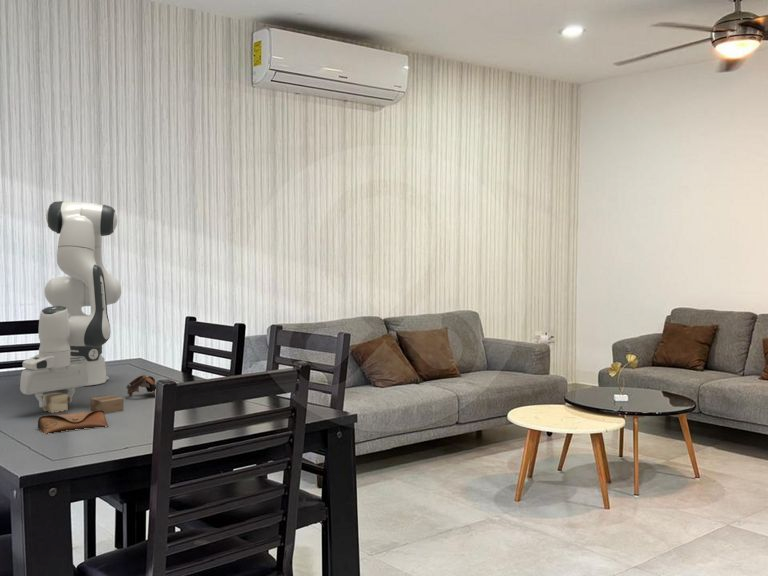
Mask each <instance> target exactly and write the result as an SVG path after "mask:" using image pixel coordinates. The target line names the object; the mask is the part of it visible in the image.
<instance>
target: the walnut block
mask: <svg viewBox="0 0 768 576" xmlns="http://www.w3.org/2000/svg"><path fill="white" fill-rule="evenodd" d="M124 407H125V406H124V398H123V397H119V396H116V395H114V394H112V395H111V394H110V395H105V396H98V397H91V398H90V411H91V410H92V411H97V410H101V411H104V413H106V414H111V413H110V412H112V413H117V412H116V411H118V412H123V410H125V409H124ZM92 411H91V412H92Z"/></svg>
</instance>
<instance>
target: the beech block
mask: <svg viewBox="0 0 768 576" xmlns="http://www.w3.org/2000/svg"><path fill="white" fill-rule="evenodd" d="M67 395H68V393H63V392H58V391H57V392H52V393H46V394H43V396H42V399H43V400H44V401H47V406H46V407H42V409H43V410H44V412H46V411H48V413H50V412H51V413H50V414H54V412H55V413H60V412H59V411H61V412H65V411H64V410H66V411H68V409H69V408H68V403H67Z"/></svg>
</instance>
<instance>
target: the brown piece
mask: <svg viewBox="0 0 768 576" xmlns="http://www.w3.org/2000/svg"><path fill="white" fill-rule="evenodd" d="M140 387H141V388H145V389H146V391H147V392H146V393H152V394H153V395H154V396H155V389H156V387H157V385H156V379H155V378H154V377H153V376H152V375H149V376H147V375H146V374H143V375H140V376H137V377H136V378H133V380H131V381H130V382H129V384H127V385H126V387H125V388H126V389H127V395H128V396H129V397H132V396H133V394H134V392H135V393H136V392H137V393H140V391H139V388H140Z"/></svg>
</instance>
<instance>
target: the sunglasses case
mask: <svg viewBox="0 0 768 576" xmlns="http://www.w3.org/2000/svg"><path fill="white" fill-rule="evenodd" d="M105 426H109V424H108V421H107V419H106V416H105V413H104V411H101V410H97V411H87V412H85V411H84V412H75V413H74V412H73V413H66V414H64V413H63V414H48V415H47V414H46V415H42V416H40V417H39V418H38V421H37V429H38V428H39V429H40V430H41V431H42V432H43V433H45V434H44V435H49V434H48V433H52V434H55V433H54V432H59V433H62V432H61V431H66V430H75V429H84V428H93V429H95V428H94V427H104V428H106V427H105ZM39 429H38V430H39ZM40 430H39V431H40ZM84 430H85V429H84ZM41 431H40V432H41ZM75 431H76V430H75ZM42 432H41V433H42ZM43 433H42V434H43Z"/></svg>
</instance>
